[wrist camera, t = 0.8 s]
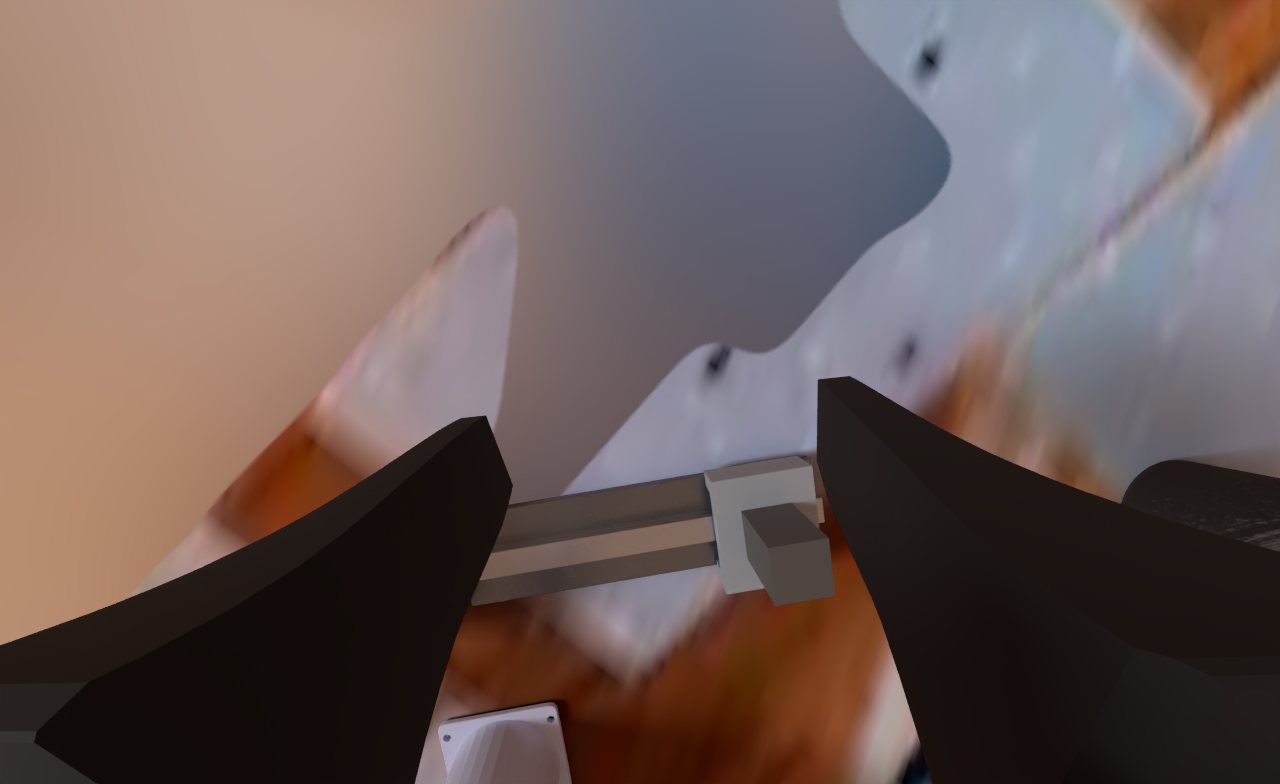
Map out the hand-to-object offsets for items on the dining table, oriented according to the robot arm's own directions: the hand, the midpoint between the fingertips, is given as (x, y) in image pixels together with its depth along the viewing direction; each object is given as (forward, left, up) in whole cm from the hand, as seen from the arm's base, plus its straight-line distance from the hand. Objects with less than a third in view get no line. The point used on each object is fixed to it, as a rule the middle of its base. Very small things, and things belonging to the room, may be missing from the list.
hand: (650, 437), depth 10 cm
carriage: (-10, -7, -19) cm, 23 cm away
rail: (-10, +1, -20) cm, 22 cm away
